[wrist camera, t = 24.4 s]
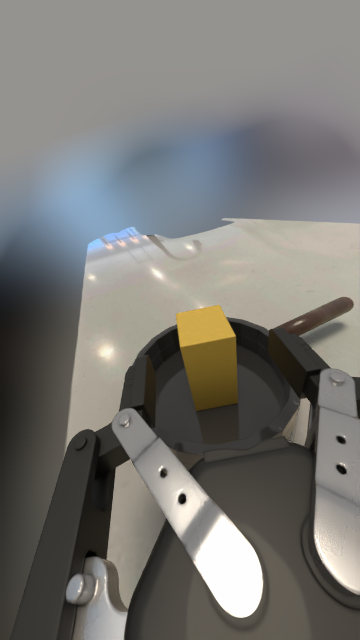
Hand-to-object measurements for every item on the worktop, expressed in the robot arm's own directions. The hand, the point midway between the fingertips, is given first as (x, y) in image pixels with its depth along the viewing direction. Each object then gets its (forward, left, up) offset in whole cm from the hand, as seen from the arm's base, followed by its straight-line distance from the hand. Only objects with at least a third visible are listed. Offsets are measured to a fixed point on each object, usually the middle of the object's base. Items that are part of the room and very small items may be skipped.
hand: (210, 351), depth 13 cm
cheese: (+2, +4, -10) cm, 11 cm away
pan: (+2, +4, -11) cm, 11 cm away
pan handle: (+16, +4, -8) cm, 18 cm away
